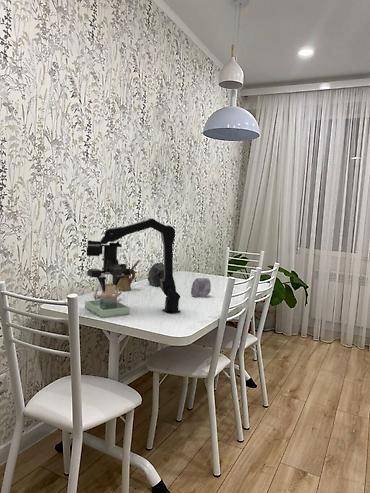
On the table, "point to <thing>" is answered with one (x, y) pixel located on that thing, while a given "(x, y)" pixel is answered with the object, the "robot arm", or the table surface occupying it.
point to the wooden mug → (127, 280)
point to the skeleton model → (103, 294)
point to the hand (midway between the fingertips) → (108, 291)
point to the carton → (109, 289)
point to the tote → (95, 307)
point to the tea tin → (108, 302)
